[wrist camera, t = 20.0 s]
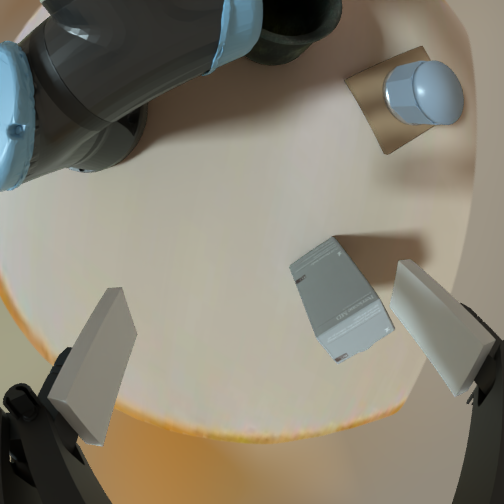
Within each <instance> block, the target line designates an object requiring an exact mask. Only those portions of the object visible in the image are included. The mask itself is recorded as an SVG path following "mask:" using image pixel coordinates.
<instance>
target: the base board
mask: <svg viewBox="0 0 504 504" xmlns="http://www.w3.org/2000/svg"><path fill="white" fill-rule="evenodd" d="M417 61H430V59H429V57H428V55H427V53H426V51H425V50H424V48H423V46H420V47H417V48H414V49H412V50H409V51H407V52H404V53H402V54H400V55H397V56H395V57H393V58H390V59H388V60H386V61H383V62H381V63H379V64H377V65H375V66H372V67H370V68H368V69H366V70H364V71H362V72H360V73H358V74H356V75H354V76H352V77H350V78H348V79H346V80H344V81H345V82H346V84H347V86H348V87H349V89H350V91H351V92H352V94H353V96H354V97H355V99H356V101H357V103H358V104H359V106H360V108H361V110H362V111H363V113H364V115H365V117H366V119H367V121H368V123H369V125H370V126H371V128H372V130H373V132H374V134H375V136H376V138H377V140H378V142H379V144H380V146H381V149H382V151H383V153H384V154H386V155H388V154H389V153H391V152H393V151H394V150H396V149H397V148H399V147H401V146H402V145H404V144H405V143H407V142H408V141H410V140H412V139H413V138H415V137H416V136H418V135H420V134H421V133H423V132H424V131H426V130H428V129H429V128H431V127H433V126H434V125H430V124H421V125H406V124H404V123H401V122H400V121H398V120H397V119H396V118H395V117H394V116H393V115H392V114H391V113H390V111H389V110H388V108H387V106H386V104H385V101H384V98H383V82H384V79H385V77H386V75H387V74H388V72H389V71H391V70H392V69H394V68H396V67H397V66H401V65H405V64H409V63H413V62H417Z"/></svg>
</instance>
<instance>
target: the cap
mask: <svg viewBox="0 0 504 504" xmlns="http://www.w3.org/2000/svg"><path fill="white" fill-rule="evenodd" d="M386 86H387V90H388V95H389V100H390V105H391V108H392V109H394V110H395V111H396V112H397V113H398V114H399V115H400V116H401V117H402V118H403V119H404V120H405V121H406V122H407V123H417V124H430V125H439V124H443V125H450V124H453V123H454V122H456V121H457V120H458V119H459V117H460V116H461V113H462V110H463V105H464V97H463V91H462V88H461V85H460V82H459V80H458V78H457V77H456V75H455V74H454V72H453V71H452V70H451V69H450V68H449V67H448V66H447V65H445V64H443V63H442V62H439V61H417V62H413V63H409V64H405V65H401V66H397V67H396V68H395V69H394V71H393V73H392V74H391V76H390V77H389V79H388V80H387V82H386Z"/></svg>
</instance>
